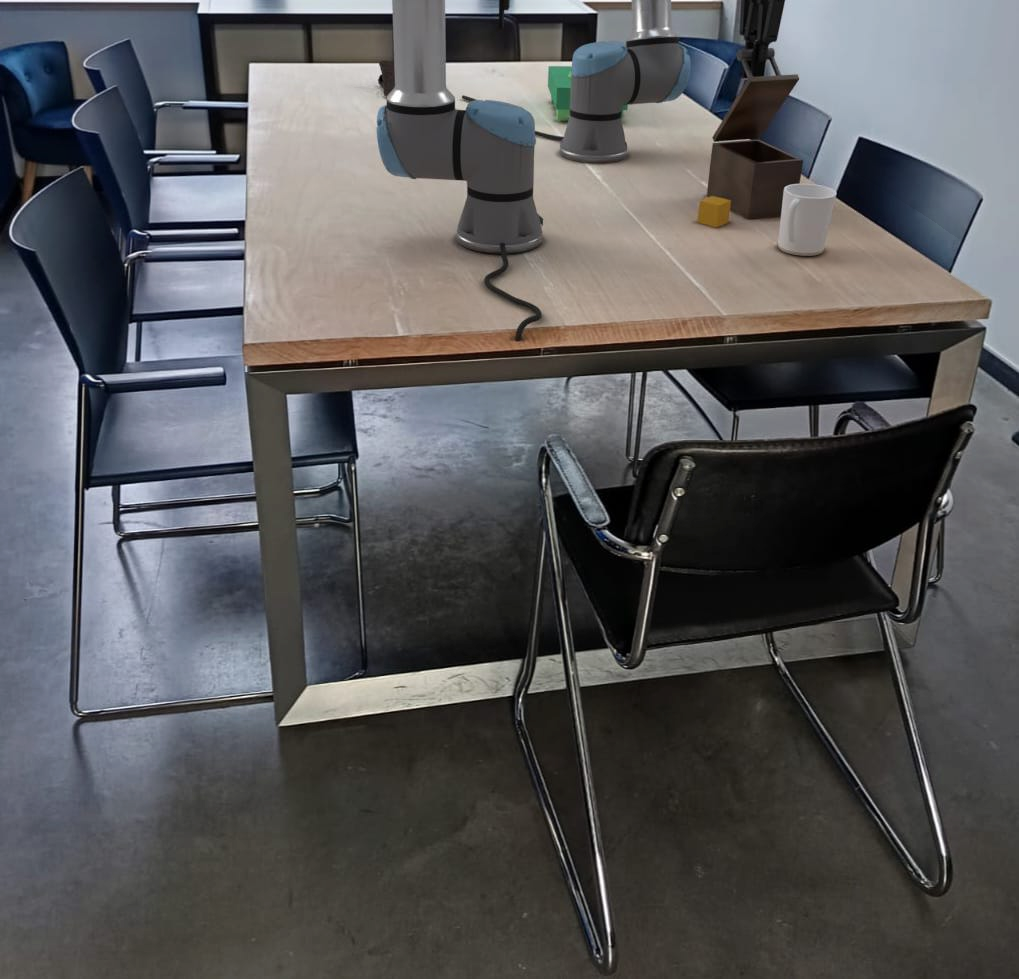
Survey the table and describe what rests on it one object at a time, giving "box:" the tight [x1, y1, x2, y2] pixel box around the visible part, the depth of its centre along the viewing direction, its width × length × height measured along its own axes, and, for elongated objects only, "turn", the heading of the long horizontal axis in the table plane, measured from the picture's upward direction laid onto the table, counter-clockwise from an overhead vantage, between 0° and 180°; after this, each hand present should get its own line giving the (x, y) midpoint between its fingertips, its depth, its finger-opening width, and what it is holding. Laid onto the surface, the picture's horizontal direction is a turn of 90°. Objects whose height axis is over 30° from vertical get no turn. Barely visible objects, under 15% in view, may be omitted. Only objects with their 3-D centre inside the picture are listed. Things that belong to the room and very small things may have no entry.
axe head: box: [377, 59, 395, 97], centre depth 299 cm, size 18×8×15 cm
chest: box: [706, 138, 804, 220], centre depth 215 cm, size 16×10×10 cm, turn 20°
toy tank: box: [547, 65, 629, 122], centre depth 283 cm, size 18×12×35 cm
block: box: [697, 196, 731, 228], centre depth 206 cm, size 4×4×4 cm
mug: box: [777, 183, 837, 257], centre depth 191 cm, size 11×9×10 cm
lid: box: [711, 47, 800, 143], centre depth 211 cm, size 17×10×9 cm
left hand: (468, 26), depth 224 cm, fingers open, 13 cm apart
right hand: (752, 78), depth 209 cm, fingers closed on lid, 2 cm apart
